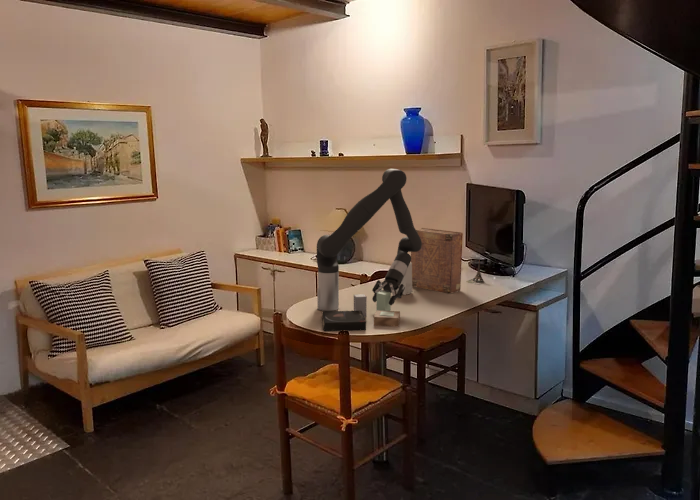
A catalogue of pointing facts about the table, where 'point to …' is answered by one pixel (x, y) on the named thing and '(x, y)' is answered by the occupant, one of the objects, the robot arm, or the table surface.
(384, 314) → the walnut plinth
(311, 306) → the table surface
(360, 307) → the grey pillar
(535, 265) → the table surface
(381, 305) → the sage pillar
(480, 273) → the eiffel tower figurine
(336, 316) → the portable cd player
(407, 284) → the skincare box
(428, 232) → the book
